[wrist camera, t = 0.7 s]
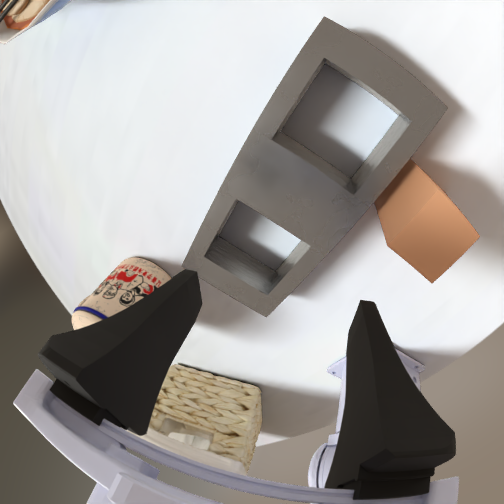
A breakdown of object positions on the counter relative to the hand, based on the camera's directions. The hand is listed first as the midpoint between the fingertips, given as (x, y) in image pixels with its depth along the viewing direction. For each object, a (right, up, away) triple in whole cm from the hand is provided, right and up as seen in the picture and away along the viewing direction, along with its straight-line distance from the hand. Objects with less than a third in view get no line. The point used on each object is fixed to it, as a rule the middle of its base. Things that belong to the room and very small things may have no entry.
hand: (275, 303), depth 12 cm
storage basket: (-6, -24, +31) cm, 40 cm away
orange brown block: (+10, +6, +5) cm, 13 cm away
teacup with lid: (-14, -2, +18) cm, 23 cm away
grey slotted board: (+2, +7, +6) cm, 10 cm away
